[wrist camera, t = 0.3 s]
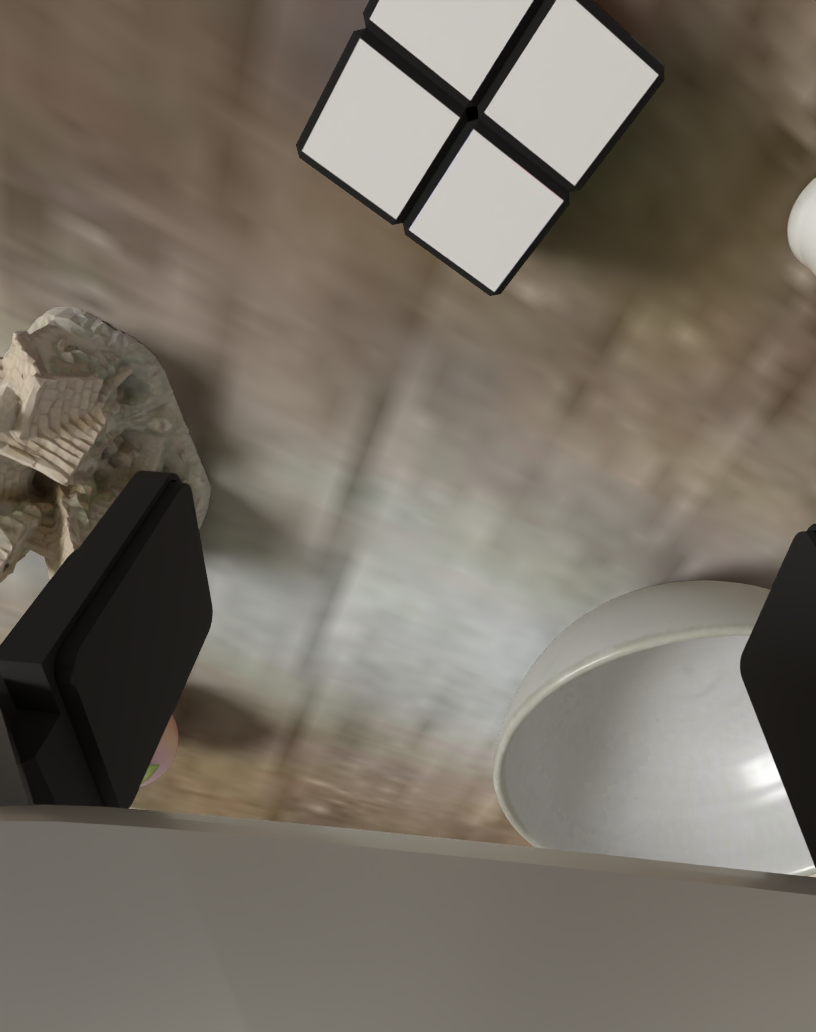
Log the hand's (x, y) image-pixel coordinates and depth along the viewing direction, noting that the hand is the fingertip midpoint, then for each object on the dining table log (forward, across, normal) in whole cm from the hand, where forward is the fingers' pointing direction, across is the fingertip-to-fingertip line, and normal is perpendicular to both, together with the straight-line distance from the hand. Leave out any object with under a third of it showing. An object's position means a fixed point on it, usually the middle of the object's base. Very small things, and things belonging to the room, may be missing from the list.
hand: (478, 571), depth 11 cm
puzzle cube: (+31, +1, -4) cm, 31 cm away
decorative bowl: (+31, -17, +31) cm, 47 cm away
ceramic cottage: (+31, +23, +17) cm, 43 cm away
